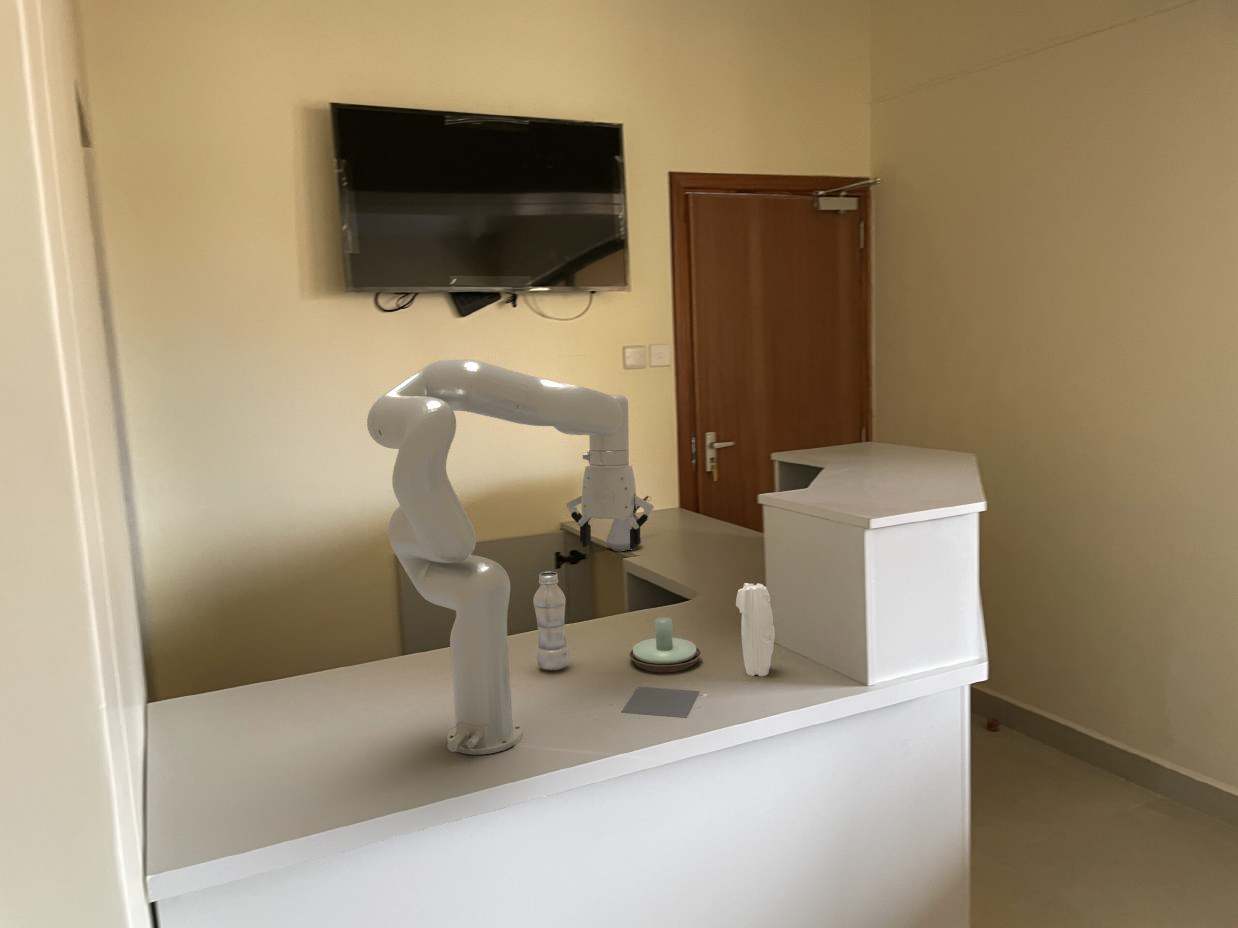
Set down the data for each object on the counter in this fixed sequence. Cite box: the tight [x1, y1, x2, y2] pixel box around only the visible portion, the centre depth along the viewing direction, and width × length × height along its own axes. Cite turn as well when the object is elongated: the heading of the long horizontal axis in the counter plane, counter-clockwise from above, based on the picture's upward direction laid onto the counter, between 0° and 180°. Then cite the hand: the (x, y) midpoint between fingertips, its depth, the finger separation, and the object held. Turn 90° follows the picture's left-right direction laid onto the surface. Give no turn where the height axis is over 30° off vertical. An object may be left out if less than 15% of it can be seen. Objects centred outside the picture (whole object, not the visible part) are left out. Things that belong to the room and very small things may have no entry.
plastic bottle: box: [533, 571, 570, 671], centre depth 179 cm, size 6×7×20 cm
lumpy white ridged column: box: [735, 582, 776, 677], centre depth 172 cm, size 7×18×7 cm
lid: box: [632, 616, 697, 665], centre depth 180 cm, size 13×13×7 cm
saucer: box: [628, 646, 702, 673], centre depth 181 cm, size 15×15×3 cm
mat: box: [620, 686, 701, 719], centre depth 161 cm, size 12×12×1 cm
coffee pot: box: [606, 495, 652, 553], centre depth 286 cm, size 21×12×15 cm, turn 145°
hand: (610, 546), depth 170 cm, fingers open, 9 cm apart
